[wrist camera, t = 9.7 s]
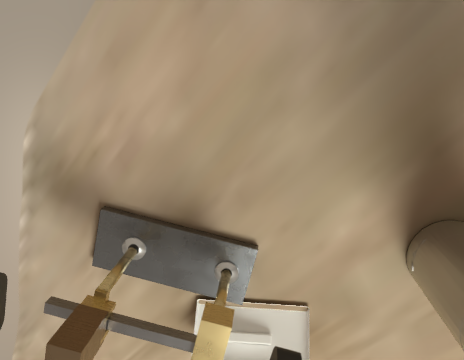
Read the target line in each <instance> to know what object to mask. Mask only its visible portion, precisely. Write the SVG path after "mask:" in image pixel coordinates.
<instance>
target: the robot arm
mask: <svg viewBox="0 0 464 360" xmlns="http://www.w3.org/2000/svg"><path fill="white" fill-rule="evenodd" d="M407 265H408V269H409V271H410V273H411V275H412V276H413V278H414V279H415V281H416V282H417V284H418V285H419V287H420V288H421V290H422V291H423V293H424V294H425V296H426V297H427V298H428V300H429V301H430V303H431V304H432V306H433V307H434V309H435V310H436V312H437V313H438V314H439V316H440V317H441V319H442V320H443V322H444V323H445V325H446V326H447V328H448V329H449V330H450V332H451V333H452V335H453V336H454V338H455V339H456V341H457V342H458V343H459V345H460V346H461V348H462V349H463V351H464V222H460V221H452V220H448V221H440V222H437V223H434V224H431V225H429V226H428V227H426V228H424V229H423V230H422V231H420V232H419V233H418V234H417V235H416V236H415V237H414V239H413V240H412V242H411V244H410V245H409V248H408V251H407ZM6 292H7V276H6V274H4V273H0V329H1V327H2V324H3V321H4V316H5V303H6ZM270 360H302V356H301V353H300V352H296V351H293V350H289V349H285V348H281V347H277V346H275V347H274V349H273V351H272V354H271V357H270Z"/></svg>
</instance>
